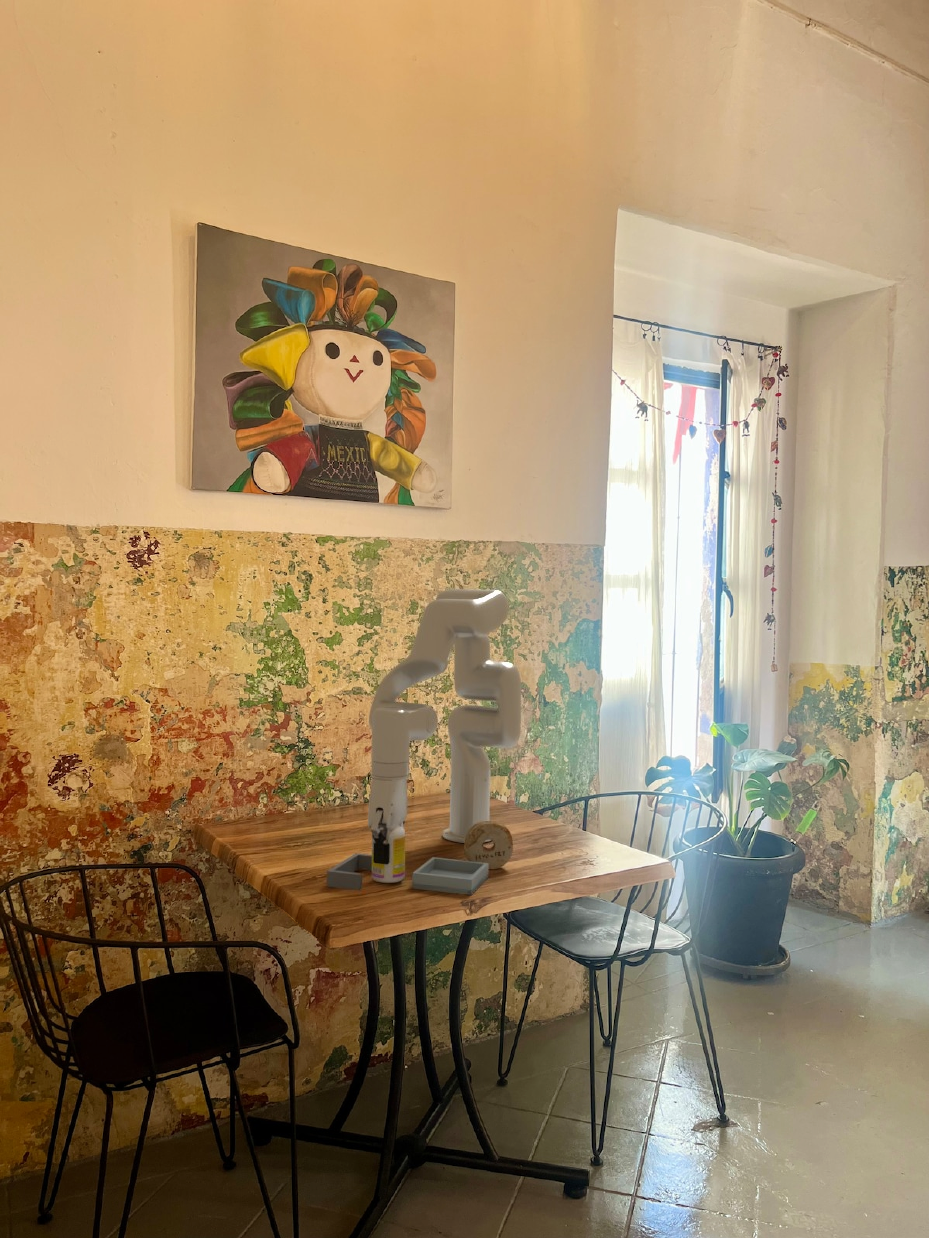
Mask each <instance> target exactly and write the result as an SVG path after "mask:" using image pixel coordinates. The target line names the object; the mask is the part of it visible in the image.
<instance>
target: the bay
mask: <svg viewBox="0 0 929 1238" xmlns="http://www.w3.org/2000/svg"><path fill="white" fill-rule="evenodd" d="M358 870H363V871H371V872H372V854H368V853H367V854H366V853H360V852H359V853H358V852H355V853H354V854H352V855H351V856H349V857H347V858H346V859H344V860H342V861H341V862H339V863H338V864H336V865H335V866H334V865H333V867H332V868H329V870H327V871H326V887H329V888H338V889H345V890H351V891H352V890H354V891H361V890H363V873H361V872H360V873H359V872H356V871H358Z"/></svg>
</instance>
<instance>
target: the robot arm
mask: <svg viewBox="0 0 929 1238" xmlns="http://www.w3.org/2000/svg"><path fill="white" fill-rule="evenodd" d="M508 615H509V602H508V598H507V597H506V595H505V594H504V593H503V592H502V591H500V590H497V589H473V588H472V589H471V588H452V589H445V590H442V591H440V592H439V593H438V594H437V596H436V597H435V599H434V600H432V601H430V602H429V603H428V604H427V605H426V607H425V608H424V611H423V615H422V617H421V619H420V622H419V626H418V629H417V630H416V631H417V632H416V635H415V637H414V641H413V644H412V647H411V650H410V652H409V655H408V656H407V657H406V658H405V659H403V660H402V661H400V662H399V663H398V664H397V665H395V666H394V667H393V668H392V669H391V670H390V671H389V672H388V673H387V674H386V675H385V676H384V677H383V678H382V680H381V681H380V683H379V684H378V687H377V688H376V691H375V694H374V697H373V699H372V703H371V706H370V710H369V714H368V715H369V716H368V724H369V728H370V730H371V760H370V761H371V762H370V763H371V767H370V770H371V771H370V772H371V773H370V776H371V778H372V779H371V784H370V788H369V789H370V791H369V799H368V813H367V826H368V828H369V829H370V832H371V837H372V836H373V843H374V849H373V862H374V863H378V864H386V865H387V864H389V856H390V844H388V839H389V833H390V829H392V828H394V827H395V826H397V825H398V820H399V818H401V821H400V823H399V825H400V826H401V827H402V828H403V829H404V830H405V827H404V826H405V821H406V819H407V815H408V814H407V813H408V783H407V779H408V778H409V777H410V745H411V744H410V741H424V740H427V739H429V738H431V737H432V736H433V735H434V734H435V733H436V731H437V728H438V723H439V719H438V714H437V712H436V710H434V708H433V707H431V706H430V705H427V704H425V703H417V702H416V703H415V702H406V701H405V702H404V701H398V699H399V697H400V696H401V695H402V693H404V692H405V691H406V690H408V689H409V688H410V687H413V686H414V685H416V684H419V683H422V682H425V681H426V680H427V681H428V680H429V679H431V678H434V677H437V676H440V675H441V674H442V673H444V672H445V671H446V670H447V668H448V665H449V661H450V659H451V655H452V652H453V654H454V658H453V661H454V662H453V663H454V668H453V669H454V670H453V671H454V674H453V675H454V676H453V677H454V679H453V680H454V681H453V682H454V689H455V693H456V695H457V696H458V697H459V698H461V699H465V700H469V701H477V702H478V701H480V702H481V701H482V702H493V703H496V706H487V705H474V704H472V705H471V704H465V705H463V704H462V705H459V706H457V707H455V708H453V709H452V710H451V711H450V712H449V715H448V719H447V730H448V737H449V744H450V745H449V747H450V791H449V792H450V794H449V795H450V796H449V798H450V800H449V802H450V803H449V827H448V828H445V829H444V830H443V831H442V838H444V839H445V840H447V841H451V842H453V843H454V842H455V843H462V844H464V843H465V838H466V835H467V832H468V831H469V829H470V828H471V827H472V826H473V825H475V824H476V823H478V822H483V821H490V809H491V808H490V803H491V774H492V773H491V768H492V767H491V760H490V758H489V757H488V754H487V752H486V750H485V749H484V747H487V748H495V749H511V748H514V747H515V746H516V745H517V744H518V742H519V740H520V736H521V726H522V718H521V717H522V680H521V675H520V672H519V670H518V668H517V667H516V665H514V664H513V663H512V662H508V661H494V660H492V659H491V649H490V648H491V644H490V643H491V642H490V637H489V634H491V633H492V632H494V631H495V630H497V629H498V628H500V627H501V626H502V625H503V624H504V623H505V621H506V620H507V617H508ZM453 650H454V651H453ZM380 825H386V827H380ZM380 831H385V835H383V833H382V832H380ZM491 841H492V840H490V839H488V840H485V841H484V843H488V842H491Z"/></svg>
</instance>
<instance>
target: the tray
mask: <svg viewBox="0 0 929 1238" xmlns="http://www.w3.org/2000/svg"><path fill="white" fill-rule="evenodd" d="M488 868H489V863H482V862H472V861H468V860H462V859H453V858H446V857H445V858H443V857H435V856H432V857H431V858H429V859H428V860H427V861H426V862H425V863H423V864H421V865H420V867H418V868H417V869H416V870H414V871H413V872H412V879H411V880H412V882H411V883H412V885H411V886H412V889H416V890H423V891H431V892H439V893H449V894H456V893H460V894H459V895H464V894H469V895H468V896H472V895H473V894H475V892H476V891H477V890H478V889H479V888H480V887H481V886H482V885H483V884H484V883H485V882H486V881H487V880H488V879H489V870H488ZM487 878H488V879H487ZM486 879H487V880H486ZM485 880H486V881H485ZM484 881H485V882H484ZM482 883H483V884H482ZM481 884H482V885H481ZM479 886H480V887H479ZM478 887H479V888H478ZM477 888H478V889H477ZM475 890H476V891H475ZM472 893H473V894H472Z"/></svg>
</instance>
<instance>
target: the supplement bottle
mask: <svg viewBox="0 0 929 1238" xmlns="http://www.w3.org/2000/svg"><path fill="white" fill-rule="evenodd" d="M400 821H401V818H399V820H398V825H397V826H395V827H394V828H392V829H390V833H389V839H388V844H390V856H389V864H387V865H386V864H378V863H374V862H373V849H374V843H373V836H372V835H371V855H372V871H371V878H372V879H373V880H374V881H376V882H378V883H384V884H388V883H389V884H390V883H391V884H392V883H398V882H401V881H403V880H404V879H405V876H406V830H405V828H404V829H403V828H402V827H401V826H400V825H399V823H400ZM380 827H386V825H380ZM380 832H382V833H383V835H385V831H380Z"/></svg>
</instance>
